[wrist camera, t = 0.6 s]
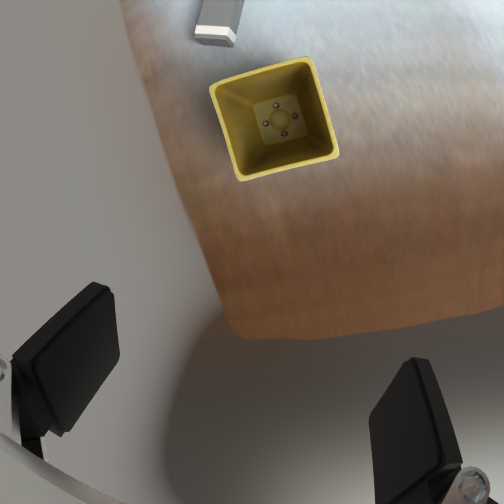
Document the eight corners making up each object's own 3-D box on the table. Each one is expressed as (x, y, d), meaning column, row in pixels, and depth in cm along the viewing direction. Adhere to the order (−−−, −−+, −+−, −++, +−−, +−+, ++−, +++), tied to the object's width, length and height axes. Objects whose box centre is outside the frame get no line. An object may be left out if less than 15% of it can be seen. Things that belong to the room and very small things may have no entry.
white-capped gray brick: (223, -31, 24) (216, -44, 21) (252, -30, 24) (247, -43, 21) (203, 45, 29) (193, 37, 26) (233, 47, 28) (226, 39, 25)
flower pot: (331, 150, 31) (341, 157, 23) (253, 169, 34) (237, 183, 25) (309, 73, 29) (310, 54, 20) (231, 94, 31) (206, 84, 22)
